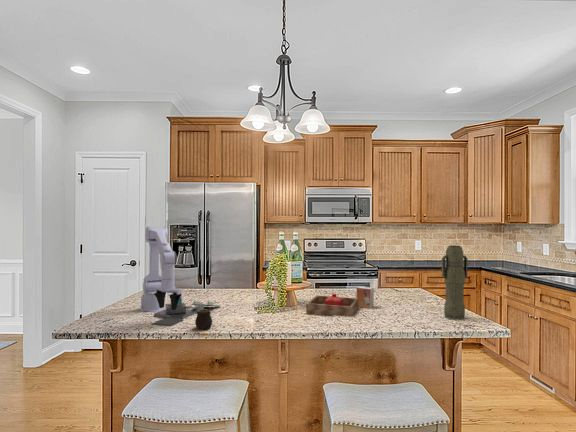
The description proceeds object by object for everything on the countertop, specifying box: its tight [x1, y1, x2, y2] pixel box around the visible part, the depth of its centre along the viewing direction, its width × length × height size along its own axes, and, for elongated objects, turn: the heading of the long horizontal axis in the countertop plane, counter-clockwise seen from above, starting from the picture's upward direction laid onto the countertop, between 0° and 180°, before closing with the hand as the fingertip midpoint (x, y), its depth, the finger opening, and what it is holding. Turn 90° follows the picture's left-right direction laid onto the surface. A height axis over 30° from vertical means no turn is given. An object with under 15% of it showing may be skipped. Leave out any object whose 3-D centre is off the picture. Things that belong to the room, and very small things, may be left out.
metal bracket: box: [189, 300, 222, 311], centre depth 198 cm, size 14×6×15 cm
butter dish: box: [324, 293, 344, 306], centre depth 200 cm, size 12×12×8 cm
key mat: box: [150, 318, 184, 327], centre depth 173 cm, size 10×10×1 cm
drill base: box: [153, 309, 197, 320], centre depth 187 cm, size 16×12×2 cm
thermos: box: [441, 244, 469, 321], centre depth 180 cm, size 9×12×35 cm
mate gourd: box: [194, 306, 214, 331], centre depth 163 cm, size 7×8×10 cm
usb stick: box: [169, 296, 184, 306], centre depth 187 cm, size 6×2×7 cm, turn 112°
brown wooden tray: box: [305, 295, 360, 317], centre depth 197 cm, size 23×21×5 cm
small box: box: [355, 286, 375, 309], centre depth 205 cm, size 8×6×10 cm
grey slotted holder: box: [164, 302, 200, 314], centre depth 188 cm, size 16×9×3 cm, turn 112°
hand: (167, 308), depth 173 cm, fingers open, 7 cm apart
